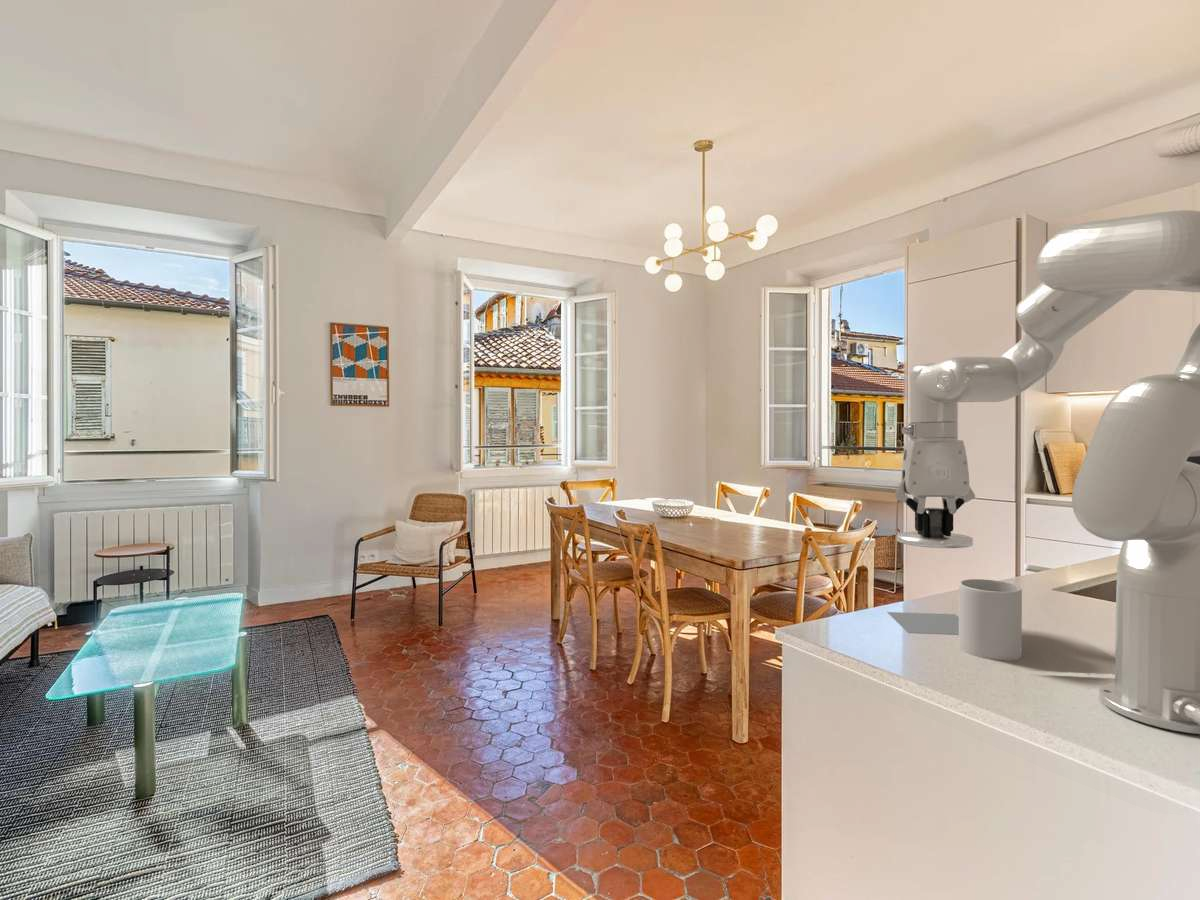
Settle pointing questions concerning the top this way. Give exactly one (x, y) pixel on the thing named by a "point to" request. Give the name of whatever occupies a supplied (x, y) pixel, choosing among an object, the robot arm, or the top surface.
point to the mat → (927, 622)
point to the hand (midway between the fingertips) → (933, 534)
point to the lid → (935, 534)
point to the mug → (990, 619)
